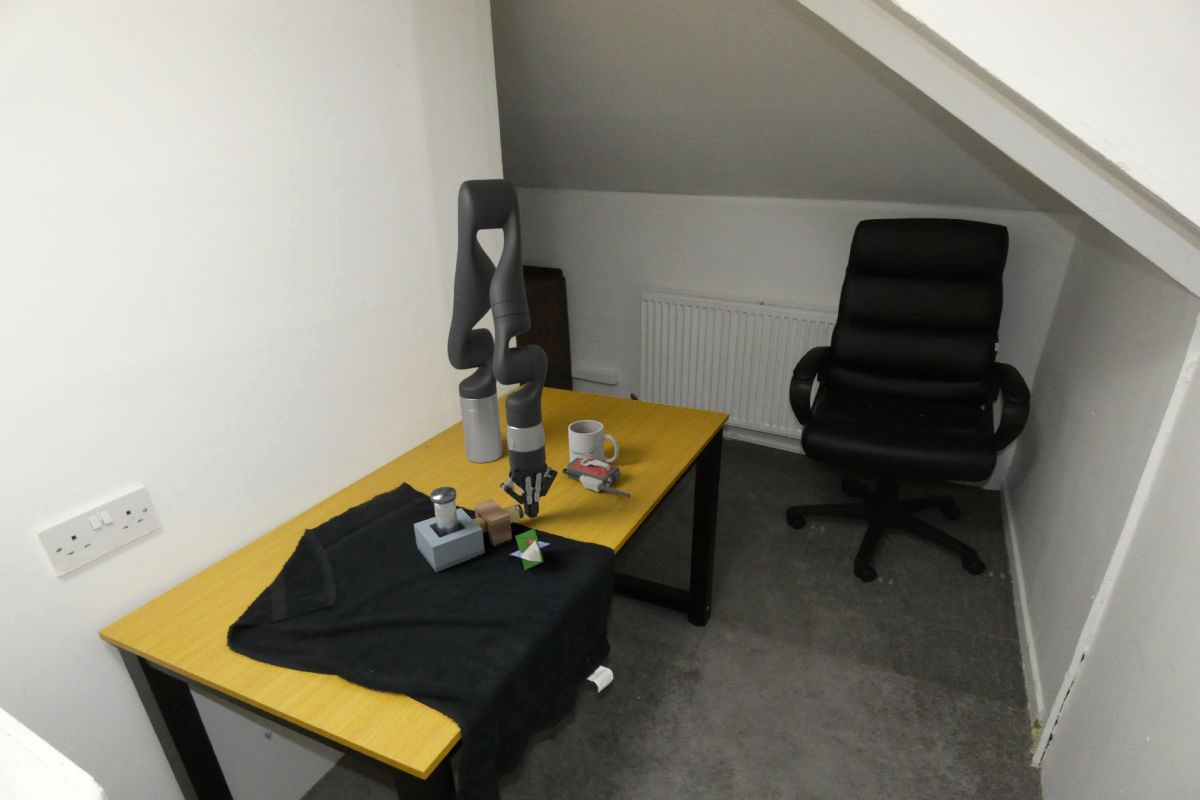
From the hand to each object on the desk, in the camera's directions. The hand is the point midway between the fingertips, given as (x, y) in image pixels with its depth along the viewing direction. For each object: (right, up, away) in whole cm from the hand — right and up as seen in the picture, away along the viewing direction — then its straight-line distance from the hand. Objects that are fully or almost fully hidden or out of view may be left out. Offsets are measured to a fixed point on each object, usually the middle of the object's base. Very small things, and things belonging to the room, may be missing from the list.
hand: (532, 516), depth 139 cm
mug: (+13, +8, +24) cm, 28 cm away
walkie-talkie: (+15, +5, +14) cm, 21 cm away
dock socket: (-15, -5, -9) cm, 18 cm away
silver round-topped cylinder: (-15, -4, -9) cm, 18 cm away
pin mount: (-7, -3, -4) cm, 9 cm away
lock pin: (-7, -1, -5) cm, 9 cm away
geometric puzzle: (+1, -7, -14) cm, 15 cm away
